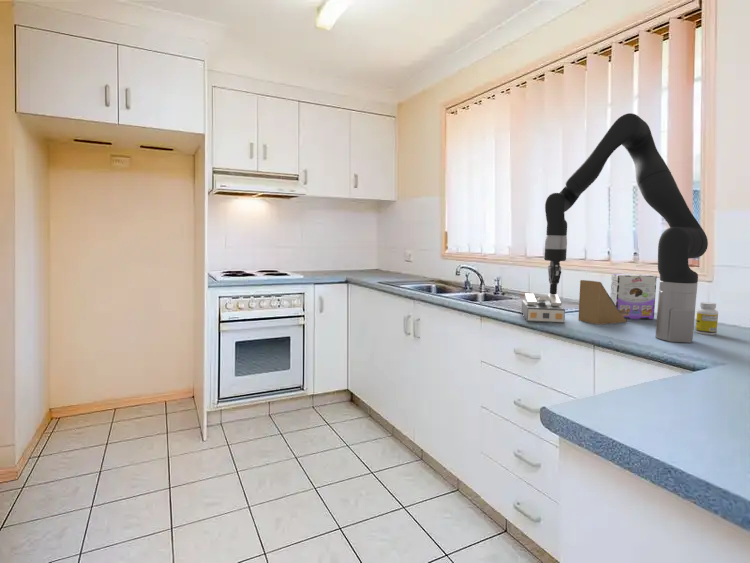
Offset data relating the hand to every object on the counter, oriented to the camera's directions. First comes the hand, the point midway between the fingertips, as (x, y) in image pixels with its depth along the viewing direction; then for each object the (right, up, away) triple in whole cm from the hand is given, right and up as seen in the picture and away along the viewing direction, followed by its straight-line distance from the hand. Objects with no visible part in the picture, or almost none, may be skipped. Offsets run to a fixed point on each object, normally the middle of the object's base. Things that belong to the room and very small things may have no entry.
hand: (553, 294), depth 166 cm
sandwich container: (+16, -10, -6) cm, 19 cm away
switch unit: (-5, -9, -2) cm, 10 cm away
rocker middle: (-5, -3, -2) cm, 6 cm away
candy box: (+30, -9, +1) cm, 31 cm away
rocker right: (-1, -3, -3) cm, 4 cm away
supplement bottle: (+39, -12, -25) cm, 48 cm away
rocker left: (-9, -2, -2) cm, 9 cm away
